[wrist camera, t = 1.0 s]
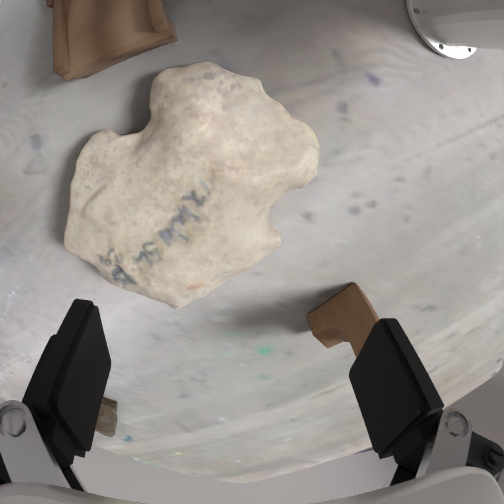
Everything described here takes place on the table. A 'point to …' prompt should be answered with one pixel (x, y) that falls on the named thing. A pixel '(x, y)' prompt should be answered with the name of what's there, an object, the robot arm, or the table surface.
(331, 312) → the wooden block
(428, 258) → the table surface
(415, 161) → the table surface
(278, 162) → the rock
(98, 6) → the lane
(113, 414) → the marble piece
